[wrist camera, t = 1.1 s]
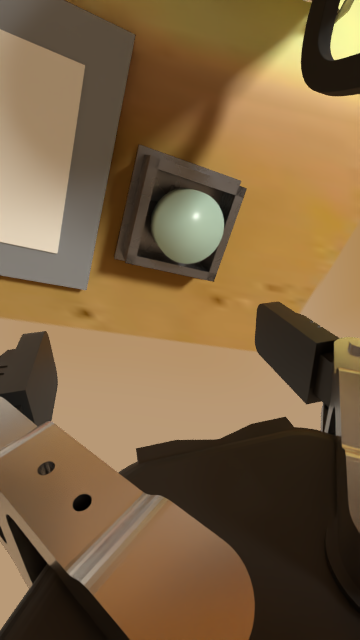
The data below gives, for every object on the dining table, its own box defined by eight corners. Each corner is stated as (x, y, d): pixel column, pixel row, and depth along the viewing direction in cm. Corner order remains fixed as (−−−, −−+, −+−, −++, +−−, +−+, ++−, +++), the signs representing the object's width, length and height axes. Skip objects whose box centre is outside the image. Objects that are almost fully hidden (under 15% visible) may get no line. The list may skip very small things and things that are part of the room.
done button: (143, 248, 28) (147, 255, 27) (160, 178, 26) (166, 180, 24) (202, 262, 31) (210, 269, 29) (223, 199, 28) (233, 202, 27)
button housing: (114, 257, 31) (117, 267, 28) (138, 144, 27) (145, 143, 24) (206, 277, 34) (217, 288, 31) (239, 180, 30) (254, 183, 28)
